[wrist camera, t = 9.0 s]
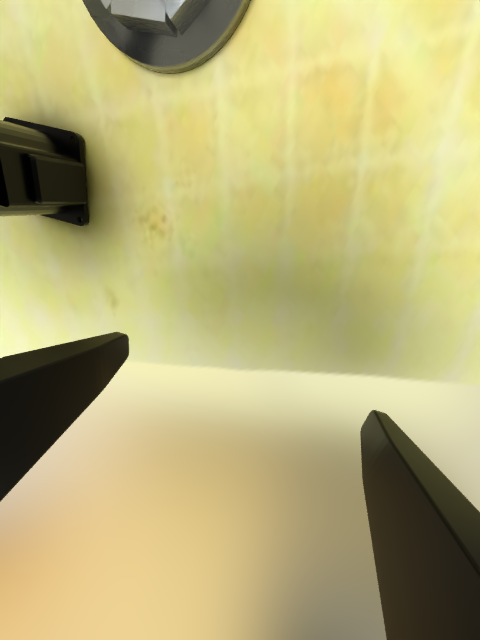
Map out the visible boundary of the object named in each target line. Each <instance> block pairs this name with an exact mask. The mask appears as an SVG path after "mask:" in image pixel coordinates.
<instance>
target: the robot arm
mask: <svg viewBox="0 0 480 640" xmlns="http://www.w3.org/2000/svg"><path fill="white" fill-rule="evenodd" d="M74 139H76V143H75V141H74ZM19 215H43V216H46V217H50V218H54V219H57V220H61V221H65V222H68V223H72V224H76V225H79V226H86V225H88V223H89V216H88V202H87V187H86V173H85V159H84V145H83V139H82V137H81V136H80V135H79V134H77V133H75V132H71V131H67V130H62V129H58V128H53V127H49V126H44V125H40V124H35V123H31V122H27V121H22V120H18V119H13V118H9V117H5V118H4V120H3V121H2V120H0V216H19ZM81 218H82V220H83V221H82V220H81ZM128 355H129V338H128V336H127V335H126V334H123V333H120V332H114V333H109V334H105V335H100V336H96V337H91V338H87V339H82V340H78V341H73V342H69V343H64V344H60V345H55V346H51V347H46V348H42V349H37V350H33V351H28V352H24V353H19V354H15V355H10V356H6V357H3V358H0V501H1V500H2V499H3V498H4V497H5V496H6V495H7V494H8V493H9V491H11V489H12V488H13V487H14V486H15V485H16V484H17V483H18V482H19V481H20V480H21V479H22V478H23V476H24V475H25V474H26V473H27V472H28V471H29V470H30V469H31V468H32V467H33V466H34V464H35V463H36V462H37V461H38V460H39V459H40V458H41V457H42V456H43V455H44V454H45V453H46V451H47V450H48V449H49V448H50V447H51V446H52V445H53V444H54V443H55V442H56V441H57V439H58V438H59V437H60V436H61V435H62V434H63V433H64V432H65V431H66V430H67V429H68V428H69V427H70V426H71V424H72V423H73V422H74V421H75V420H76V419H77V418H78V417H79V416H80V415H81V413H82V412H83V411H84V410H85V409H86V408H87V407H88V406H89V405H90V404H91V403H92V402H93V401H94V400H95V398H96V397H97V396H98V395H99V394H100V393H101V392H102V390H103V389H104V388H105V387H106V386H107V384H108V383H109V382H110V380H111V379H112V378H113V377H114V375H115V373H116V372H117V371H118V370H119V369H120V367H121V366H122V365H123V363H124V362H125V361H126V359H127V357H128ZM361 455H362V478H363V486H364V493H365V500H366V506H367V513H368V519H369V526H370V532H371V539H372V546H373V552H374V559H375V565H376V572H377V579H378V585H379V592H380V598H381V605H382V611H383V618H384V624H385V631H386V638H387V640H480V512H479V511H478V510H477V509H476V508H475V507H474V506H473V505H472V504H471V502H470V501H469V500H468V499H467V498H466V497H465V496H464V495H463V494H462V493H461V492H460V491H459V490H458V489H457V488H456V487H455V486H454V484H453V483H452V482H451V481H450V480H449V479H448V478H447V477H446V476H445V475H444V474H443V473H442V472H441V471H440V470H439V469H438V468H437V467H436V466H435V465H434V463H433V462H431V460H430V459H429V458H428V457H427V456H426V455H425V454H424V453H423V452H422V451H421V450H420V449H419V448H418V447H417V445H415V444H414V442H413V441H412V440H411V439H410V438H409V437H408V436H407V435H406V434H405V433H404V432H403V431H402V430H401V429H400V428H399V427H398V426H397V424H396V423H395V422H394V421H393V420H392V419H391V418H390V417H389V416H388V415H387V414H385V413H382V412H380V411H376V410H372V411H371V412H370V413H369V415H368V417H367V419H366V421H365V422H364V424H363V426H362V428H361Z"/></svg>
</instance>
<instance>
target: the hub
mask: <svg viewBox="0 0 480 640" xmlns="http://www.w3.org/2000/svg"><path fill="white" fill-rule="evenodd" d="M83 2H84V4H85V6H86V8H87V10H88V11H89V13H90V15H91V17H92V18H93V20H94V21H95V23H96V24H97V26H98V27H99V29H100V30H101V31H102V32H103V34H104V35H105V36H106V37H107V38H108V39H109V41H110V42H112V43H113V44H114V45H115V46H116V47H117V48H118V49H119V50H120V51H122V52H123V53H124V54H125V55H126V56H128V57H129V58H130V59H132V60H133V61H135V62H136V63H137V64H139V65H141V66H143V67H145V68H147V69H149V70H153V71H156V72H160V73H180V72H184V71H187V70H191V69H193V68H195V67H197V66H199V65H201V64H203V63H204V62H206V61H207V60H208V59H210V58H211V57H213V56H214V55H215V54H216V53H217V52H218V51H219V50H220V49H221V48H222V47H223V46H224V44H225V43H226V42H227V41H228V40H229V38H230V37H231V36H232V34H233V33H234V31H235V30H236V28H237V26H238V25H239V23H240V22H241V20H242V18H243V16H244V14H245V12H246V10H247V8H248V5H249V3H250V0H83Z"/></svg>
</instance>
